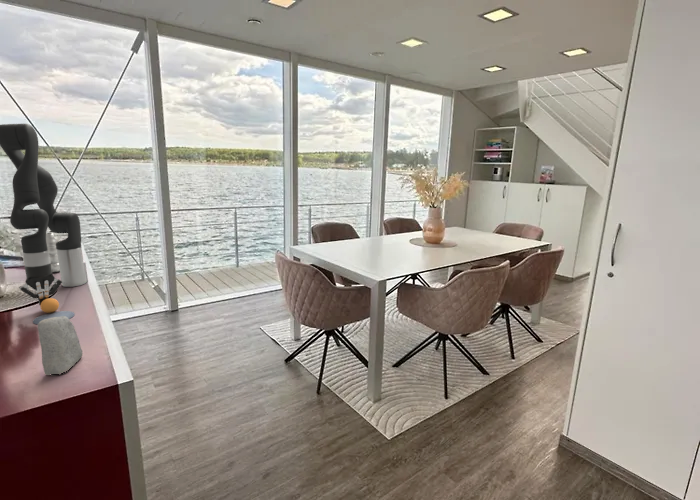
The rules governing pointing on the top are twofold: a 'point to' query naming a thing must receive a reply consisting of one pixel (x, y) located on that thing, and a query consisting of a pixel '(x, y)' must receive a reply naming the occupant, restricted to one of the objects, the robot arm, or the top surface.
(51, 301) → the ball
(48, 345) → the decorative stone
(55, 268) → the plastic bottle
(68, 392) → the top surface
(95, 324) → the top surface
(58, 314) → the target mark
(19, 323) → the top surface
